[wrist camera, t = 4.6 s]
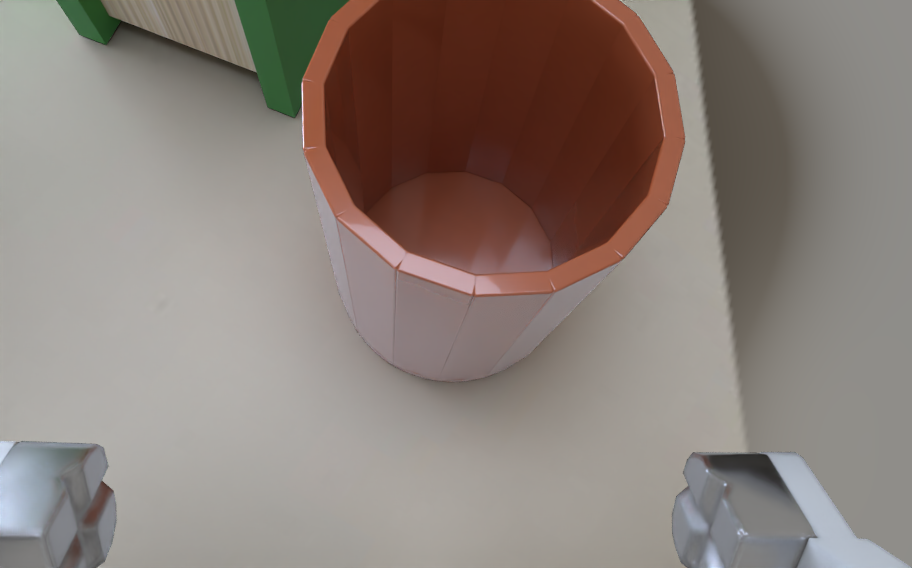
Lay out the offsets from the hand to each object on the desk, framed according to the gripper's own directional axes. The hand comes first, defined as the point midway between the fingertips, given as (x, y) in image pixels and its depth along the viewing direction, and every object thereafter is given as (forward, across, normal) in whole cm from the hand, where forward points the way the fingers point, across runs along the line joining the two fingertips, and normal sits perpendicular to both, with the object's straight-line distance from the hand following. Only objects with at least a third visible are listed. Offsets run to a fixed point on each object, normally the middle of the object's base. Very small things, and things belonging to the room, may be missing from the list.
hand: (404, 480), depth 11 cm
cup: (+12, -2, +3) cm, 13 cm away
